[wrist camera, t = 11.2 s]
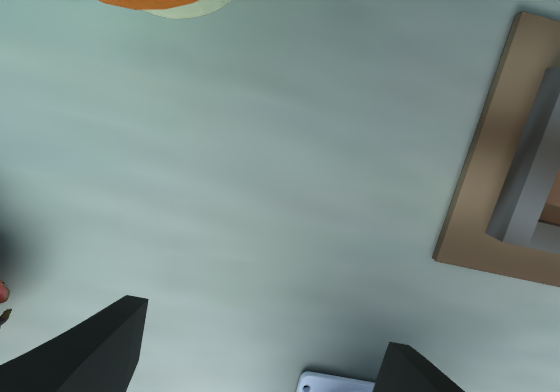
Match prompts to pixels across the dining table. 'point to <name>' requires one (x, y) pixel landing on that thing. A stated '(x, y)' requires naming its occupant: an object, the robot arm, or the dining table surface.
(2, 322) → the dragon fruit
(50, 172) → the dining table surface
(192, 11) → the reusable coffee cup
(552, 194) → the beige upright block
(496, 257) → the socket board
